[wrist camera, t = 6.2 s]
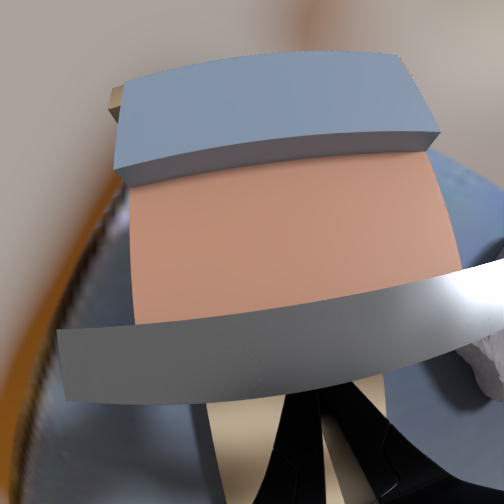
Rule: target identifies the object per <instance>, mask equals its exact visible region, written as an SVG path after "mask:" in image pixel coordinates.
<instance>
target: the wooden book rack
mask: <svg viewBox="0 0 504 504" xmlns="http://www.w3.org/2000/svg"><path fill="white" fill-rule="evenodd" d="M399 59H400V60H401V58H399ZM401 62H402V60H401ZM402 63H403V62H402ZM403 65H404V66H405V64H404V63H403ZM405 68H406V69H407V67H406V66H405ZM407 71H408V69H407ZM408 73H409V74H410V72H409V71H408ZM410 76H411V77H412V75H411V74H410ZM123 88H124V85H122V86H119V87H116V88H113V89H112V92H111V97H110V102H109V107H108V110H109V112H110V113H111V114H112V116H113V117H114V119H115V120H116V122H117V123H118V121H119V113H120V107H121V100H122V94H123ZM352 382H353V383H354V384H355V385H356V386H357V387H358V388H359V389H360V390H361V391H362V392H363V394H364V395H365V396H366V397H367V398H368V399H369V400H370V401H371V402H372V403H373V404H374V405H375V406H376V408H377V409H378V410H379V411H380V412H381V413H382V414H383V415H384V416H385V417H386V404H385V391H384V380H383V374H379V375H375V376H371V377H368V378H364V379H360V380H356V381H352ZM285 395H286V394H285ZM285 395H279V396H272V397H265V398H257V399H248V400H239V401H229V402H217V403H206V405H207V411H208V416H209V422H210V427H211V433H212V438H213V443H214V448H215V453H216V458H217V462H218V467H219V472H220V476H221V480H222V485H223V489H224V493H225V498H226V502H227V504H252V503H253V501H254V499H255V497H256V495H257V493H258V490H259V488H260V486H261V483H262V481H263V478H264V476H265V473H266V470H267V466H268V463H269V460H270V456H271V452H272V450H273V445H274V441H275V437H276V433H277V429H278V425H279V421H280V416H281V412H282V408H283V403H284V399H285ZM322 435H323V433H322ZM323 448H324V464H325V481H326V504H345V503H344V499H343V496H342V493H341V490H340V487H339V484H338V480H337V477H336V474H335V471H334V468H333V465H332V461H331V458H330V455H329V452H328V449H327V446H326V443H325V439H324V436H323Z"/></svg>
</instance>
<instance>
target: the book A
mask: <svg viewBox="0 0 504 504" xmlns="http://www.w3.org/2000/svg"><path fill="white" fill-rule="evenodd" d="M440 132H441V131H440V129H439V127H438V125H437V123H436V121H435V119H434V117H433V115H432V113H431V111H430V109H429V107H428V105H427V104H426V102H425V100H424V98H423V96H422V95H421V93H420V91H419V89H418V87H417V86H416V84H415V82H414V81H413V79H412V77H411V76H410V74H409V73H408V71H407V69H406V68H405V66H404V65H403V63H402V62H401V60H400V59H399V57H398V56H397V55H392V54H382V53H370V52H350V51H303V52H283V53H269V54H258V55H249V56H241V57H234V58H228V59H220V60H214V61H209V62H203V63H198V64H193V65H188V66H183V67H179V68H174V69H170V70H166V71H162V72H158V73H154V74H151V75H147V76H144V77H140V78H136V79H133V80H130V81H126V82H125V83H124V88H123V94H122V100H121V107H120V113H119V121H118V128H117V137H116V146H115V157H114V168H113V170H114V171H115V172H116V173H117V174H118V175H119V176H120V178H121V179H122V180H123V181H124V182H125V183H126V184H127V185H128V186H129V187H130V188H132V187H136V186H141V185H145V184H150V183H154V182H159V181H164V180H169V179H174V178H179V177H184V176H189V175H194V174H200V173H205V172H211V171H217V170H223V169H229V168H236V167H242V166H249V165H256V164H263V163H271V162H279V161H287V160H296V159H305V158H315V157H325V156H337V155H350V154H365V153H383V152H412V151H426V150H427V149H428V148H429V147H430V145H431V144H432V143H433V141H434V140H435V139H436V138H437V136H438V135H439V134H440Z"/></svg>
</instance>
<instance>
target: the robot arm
mask: <svg viewBox="0 0 504 504" xmlns="http://www.w3.org/2000/svg"><path fill="white" fill-rule="evenodd" d="M322 433H323V435H322ZM323 436H324V439H325V443H326V446H327V449H328V452H329V455H330V458H331V461H332V465H333V468H334V471H335V474H336V477H337V480H338V484H339V487H340V490H341V493H342V496H343V499H344V503H345V504H504V491H502V490H497V489H493V488H489V487H484V486H480V485H476V484H473V483H469V482H465V481H463V480H460V479H458V478H456V477H454V476H453V475H451V474H450V473H448V472H447V471H445V470H444V469H443V468H441V467H440V466H439V465H438V464H436V463H435V462H434V461H432V460H431V459H430V458H429V457H427V456H426V455H425V454H423V453H422V452H421V451H420V450H419V449H417V448H416V447H415V446H414V445H413V444H412V443H410V442H409V441H408V440H407V439H406V438H405V437H404V436H403V435H402V434H401V433H400V432H399V431H398V430H397V429H396V428H395V427H394V425H393V424H390V421H389V420H388V419H387V418H386V417H385V416H384V415H383V414H382V413H381V412H380V411H379V410H378V409H377V408H376V406H375V405H374V404H373V403H372V402H371V401H370V400H369V399H368V398H367V397H366V396H365V395H364V394H363V392H362V391H361V390H360V389H359V388H358V387H357V386H356V385H355V384H354V383H353V382H352V381H351V382H347V383H343V384H338V385H334V386H329V387H324V388H319V389H314V390H309V391H303V392H298V393H292V394H286V395H285V399H284V403H283V408H282V412H281V416H280V421H279V425H278V429H277V433H276V437H275V441H274V445H273V450H272V452H271V456H270V460H269V463H268V466H267V470H266V473H265V476H264V478H263V481H262V483H261V486H260V488H259V490H258V493H257V495H256V497H255V499H254V501H253V503H252V504H326V481H325V464H324V448H323Z"/></svg>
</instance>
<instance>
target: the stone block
mask: <svg viewBox="0 0 504 504" xmlns="http://www.w3.org/2000/svg"><path fill="white" fill-rule="evenodd" d="M502 259H504V246H503V248H502V249H501V251H500V252H499V254H498V256H497V257H496V259H495V260H494V262H495V261H498V260H502ZM454 351H456V352H457V354H459V355H460V356H461V357H462V358H463V359H464V360H465V361H466V362H467V363H469V364H470V365H471V367H472V368H473V372H474V374H475V378H476V381H477V383H478V385H479V387H480V389H481V391H482V392H483V394H485V395H486V396H487V397H490V398H492V399H493V400H496V401H500V402H503V401H504V329H502V330H500V331H497V332H495V333H493V334H491V335H489V336H486V337H484V338H482V339H480V340H477V341H475V342H473V343H470V344H468V345H465V346H463V347H460V348H458V349H455V350H454Z"/></svg>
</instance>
